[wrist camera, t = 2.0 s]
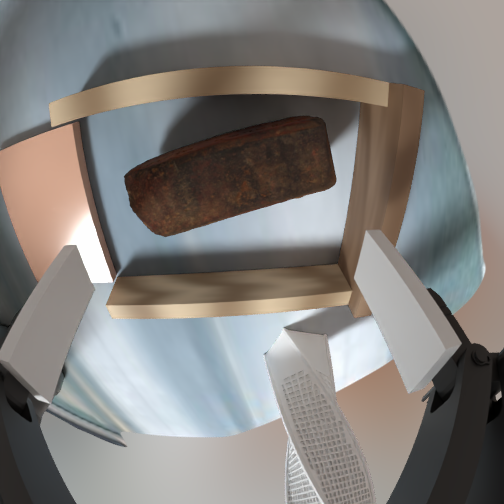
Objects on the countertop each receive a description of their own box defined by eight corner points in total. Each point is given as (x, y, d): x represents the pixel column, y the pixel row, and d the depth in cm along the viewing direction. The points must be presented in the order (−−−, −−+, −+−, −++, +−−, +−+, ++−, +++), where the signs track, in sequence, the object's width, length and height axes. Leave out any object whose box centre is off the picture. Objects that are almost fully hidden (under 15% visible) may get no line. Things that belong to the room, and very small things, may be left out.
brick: (298, 113, 15) (327, 114, 11) (310, 170, 17) (340, 190, 13) (137, 162, 16) (113, 180, 11) (159, 216, 18) (144, 248, 13)
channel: (122, 289, 22) (107, 332, 18) (76, 97, 13) (33, 107, 9) (349, 275, 24) (370, 315, 20) (380, 84, 14) (424, 90, 10)
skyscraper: (342, 329, 28) (413, 562, 5) (309, 365, 32) (355, 566, 9) (279, 319, 26) (335, 604, 3) (251, 359, 30) (282, 591, 7)
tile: (42, 277, 20) (38, 283, 20) (0, 150, 13) (-8, 154, 12) (116, 274, 21) (113, 282, 20) (79, 121, 14) (72, 123, 13)
